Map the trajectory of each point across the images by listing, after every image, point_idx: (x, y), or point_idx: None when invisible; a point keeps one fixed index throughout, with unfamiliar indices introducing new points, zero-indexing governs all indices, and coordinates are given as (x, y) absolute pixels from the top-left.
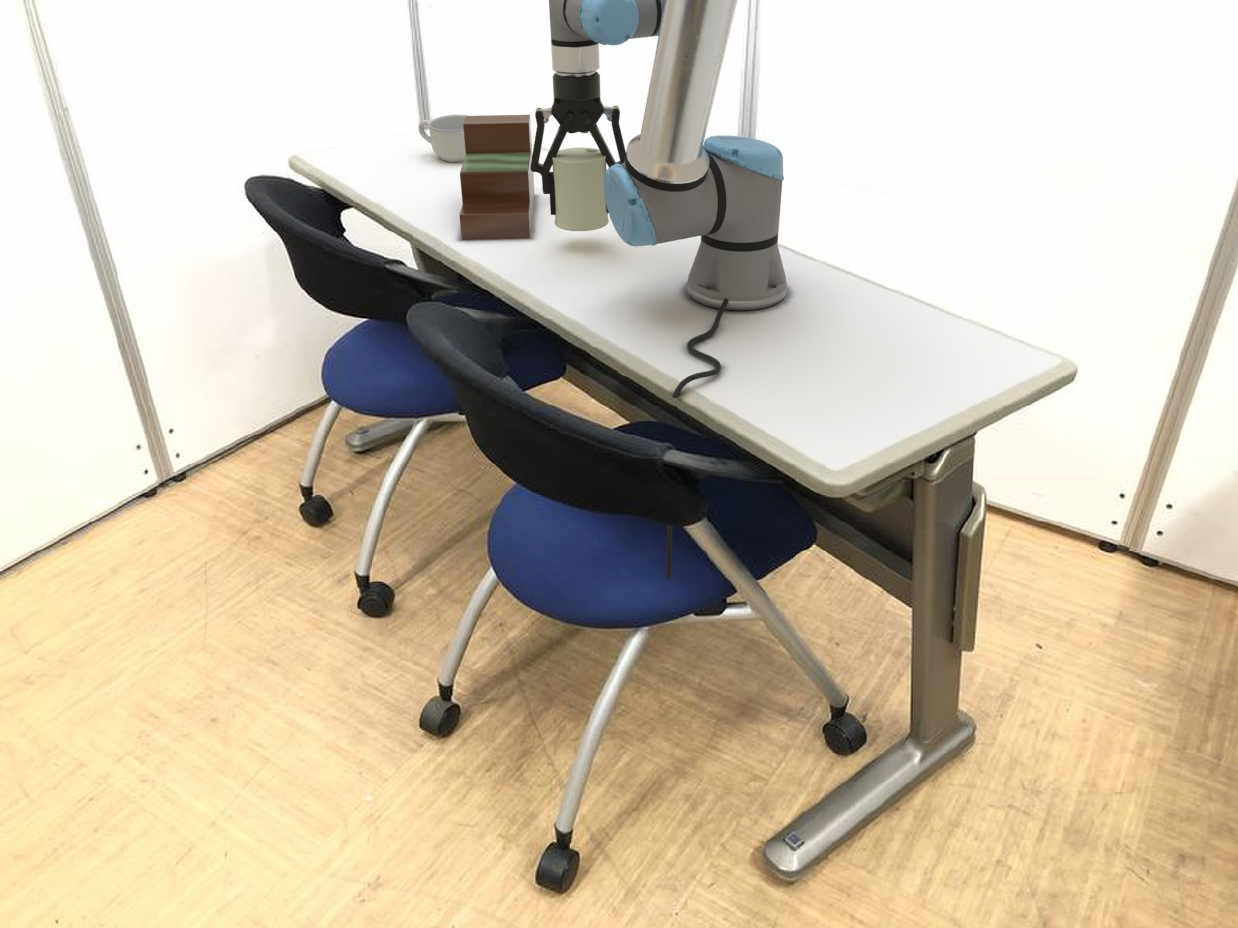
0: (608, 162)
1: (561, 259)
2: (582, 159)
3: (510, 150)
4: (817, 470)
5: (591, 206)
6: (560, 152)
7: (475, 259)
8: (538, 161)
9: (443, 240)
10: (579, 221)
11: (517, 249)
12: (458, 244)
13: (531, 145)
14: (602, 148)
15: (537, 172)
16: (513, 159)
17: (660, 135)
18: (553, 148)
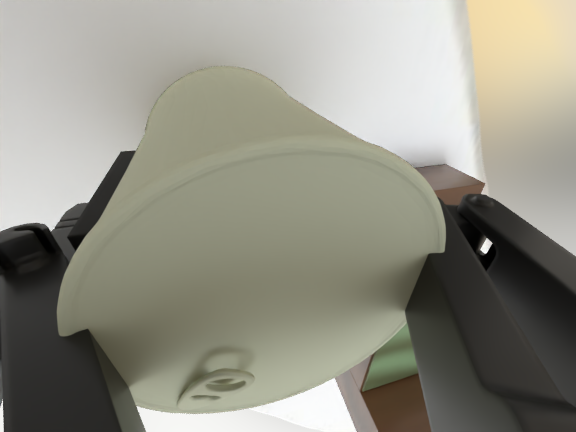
0: (55, 297)
1: (272, 36)
2: (259, 237)
3: (396, 386)
4: None
5: (186, 93)
6: (377, 332)
7: (453, 54)
8: (493, 225)
9: (470, 162)
10: (233, 72)
11: (365, 116)
12: (456, 144)
13: (352, 413)
14: (64, 403)
15: (447, 205)
16: (399, 358)
17: None
18: (486, 297)
